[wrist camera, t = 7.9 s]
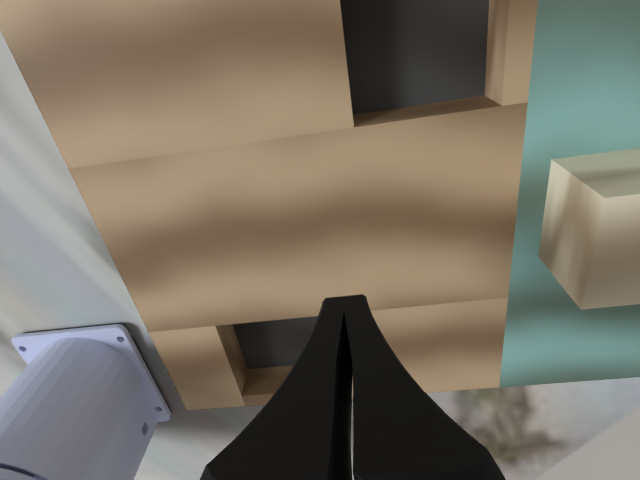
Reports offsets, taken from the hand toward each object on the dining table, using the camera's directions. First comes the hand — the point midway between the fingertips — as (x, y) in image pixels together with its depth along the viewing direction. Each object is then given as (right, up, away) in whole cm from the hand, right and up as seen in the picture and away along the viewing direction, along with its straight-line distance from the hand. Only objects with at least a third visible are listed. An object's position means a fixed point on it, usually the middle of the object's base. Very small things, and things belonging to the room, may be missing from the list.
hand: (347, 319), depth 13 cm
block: (+12, +4, +5) cm, 14 cm away
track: (+3, +5, +8) cm, 10 cm away
